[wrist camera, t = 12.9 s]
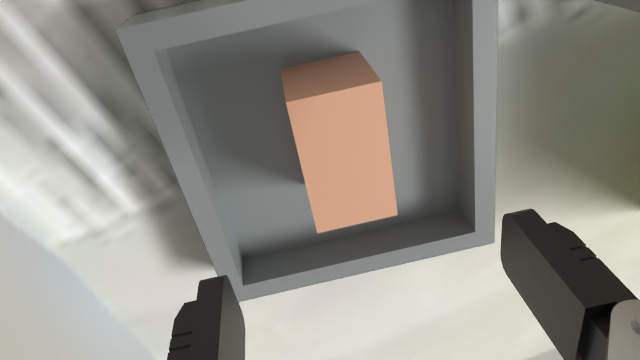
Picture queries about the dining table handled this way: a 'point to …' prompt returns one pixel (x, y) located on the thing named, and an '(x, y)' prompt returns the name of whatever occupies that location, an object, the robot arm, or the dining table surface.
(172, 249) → the dining table surface
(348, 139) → the terracotta brick
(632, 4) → the charcoal brick
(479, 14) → the slate tray
